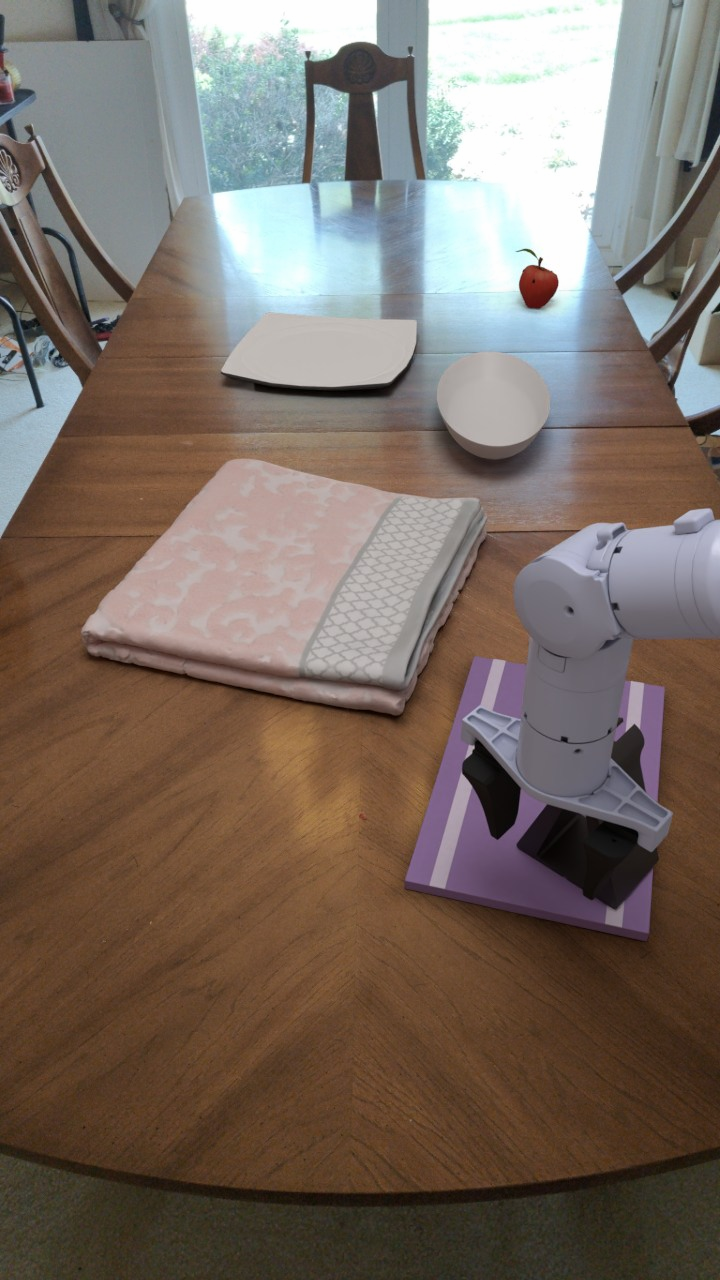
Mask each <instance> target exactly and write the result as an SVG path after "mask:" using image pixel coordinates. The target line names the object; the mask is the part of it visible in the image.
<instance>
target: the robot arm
mask: <svg viewBox="0 0 720 1280" xmlns="http://www.w3.org/2000/svg"><path fill="white" fill-rule="evenodd" d="M512 590H513V591H512V593H513V595H512V596H513V605H514V608H515V611H516V615H517V617H518V619H519V621H520V623H521V625H522V627H523V628H524V630H525V631H526V632H527V634H528V635H529V639H528V646H527V647H528V649H527V658H526V664H525V665H526V674H525V683H524V692H523V701H522V712H521V719H517V718H514V717H510V716H506V715H503V714H499V713H496V712H494V711H491V710H489V709H487V708H485V707H483V706H481V705H479V706H478V707H477V708H476V709H474V710H473V711H472V712H471V713H469V714H468V715H467V716H466V717H464V718H463V719H462V730H461V740H462V741H464V742H465V743H467V744H469V745H471V746H474V745H475V747H474V749H473V750H472V754H471V755H470V756H468V757H467V758H466V759H465V760H464V761H463V764H462V774H463V775H464V776H465V778H466V779H467V780H468V781H469V783H470V784H471V785H472V787H473V789H474V790H475V792H476V794H477V796H478V798H479V800H480V802H481V805H482V808H483V810H484V813H485V817H486V820H487V824H488V827H489V831H490V834H491V836H492V837H493V838H495V839H497V840H499V839H500V838H501V837H502V836H503V835H504V834H505V833H506V832H507V831H508V830H509V829H510V828H511V827H512V826H513V825H514V824H515V822H516V818H517V815H518V810H519V801H520V793H521V789H523V790H524V791H525V792H526V793H527V794H528V795H530V796H531V797H533V798H534V799H536V800H538V801H540V802H543V803H545V804H548V805H552V806H555V807H559V808H562V809H566V810H569V811H573V812H576V813H580V814H583V815H587V816H590V817H594V818H597V819H601V820H604V821H603V823H602V824H600V825H599V826H598V827H597V828H596V829H595V830H594V831H593V832H592V833H591V834H590V835H589V836H588V837H587V838H586V839H585V840H584V842H583V847H584V850H585V853H586V861H587V870H586V875H585V879H584V884H583V896H585V897H586V898H588V899H590V900H594V898H595V897H596V896H597V895H598V894H599V893H600V892H601V891H602V890H603V888H604V887H605V886H606V885H607V884H608V882H609V879H610V877H611V875H612V873H613V871H614V869H615V868H616V867H617V866H618V865H619V864H620V863H621V862H622V861H624V860H625V859H626V858H627V856H628V855H629V854H630V853H631V852H632V851H633V850H634V849H635V848H636V847H637V845H638V844H639V845H640V846H641V847H643V848H645V849H646V850H648V851H650V852H653V850H654V849H655V848H656V847H657V848H658V846H659V845H661V843H662V842H663V840H664V839H665V838H666V837H667V836H668V835H669V831H670V827H671V823H672V819H673V815H674V812H673V811H671V810H669V809H668V808H666V807H664V806H663V805H661V804H660V803H659V802H656V801H654V800H653V799H652V798H651V797H650V796H649V795H648V794H647V793H646V792H645V791H644V790H643V789H642V788H641V787H640V786H639V785H638V784H637V783H636V782H635V781H634V780H633V779H632V778H631V777H630V776H629V775H628V774H627V773H626V772H625V771H624V770H623V769H622V768H621V767H620V766H618V765H617V764H616V763H615V762H614V761H613V760H612V759H611V753H612V748H613V743H614V737H615V732H616V727H617V722H618V716H619V711H620V706H621V701H622V695H623V690H624V685H625V681H627V680H626V679H627V674H628V670H629V664H630V659H631V654H632V648H633V643H634V640H720V519H715V517H714V511H713V510H712V509H711V508H709V507H708V508H699V509H691V510H689V511H687V512H686V513H684V514H683V515H681V516H680V517H678V518H676V519H675V520H674V521H673V524H669V525H659V526H650V527H643V528H642V527H641V528H633V529H628V528H627V526H626V524H625V523H624V522H614V523H609V522H596V523H592V524H590V525H587V526H585V527H583V528H582V529H581V530H578V531H577V532H576V533H574V534H572V535H570V536H569V537H568V538H566V539H564V540H563V541H561V542H560V543H558V544H556V545H555V546H553V547H551V548H550V549H548V550H546V551H545V552H544V553H541V555H539V556H537V557H536V558H534V559H533V560H531V561H530V562H529V563H528V564H527V565H526V566H524V567H523V568H522V569H521V570H520V571H519V573H518V574H517V575H516V578H515V580H514V583H513V589H512Z"/></svg>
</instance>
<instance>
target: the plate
mask: <svg viewBox="0 0 720 1280" xmlns="http://www.w3.org/2000/svg"><path fill="white" fill-rule="evenodd" d="M417 332H418V321H417V320H416V319H391V318H390V319H389V318H384V319H382V318H357V317H339V316H338V317H337V316H319V315H307V314H306V315H305V314H293V313H283V312H273V311H272V312H271V311H268V312H265V313H264V314H263V315H262V317H260V319H259V320H258V321H257V322H256V323H255V324H254V325H253V326H252V327H251V328H250V330H248V332H246V334H245V335H244V336H243V337H242V338H241V340H239V342H238V343H237V344H236V346H235V347H234V348H233V350H232V351H231V352H230V354H229V355H228V357H227V359H226V361H225V363H224V365H223V366H222V368H221V369H220V374H221V375H222V376H225V377H226V378H229V379H232V380H237V381H242V382H247V383H253V384H256V385H262V386H268V387H271V388H283V389H295V390H296V389H297V390H307V391H308V390H309V391H310V390H311V391H313V390H314V391H332V392H337V391H355V390H356V391H357V390H371V389H372V390H373V389H374V390H375V389H384V388H387V387H389V386H391V385H392V384H393V383H394V382H395V381H396V380H397V379H398V377H400V376H401V375H402V374H403V373H404V371H406V370H407V368H408V366H409V364H410V362H411V360H412V359H413V358H414V353H415V351H416V347H417V337H418V336H417V335H418V333H417Z"/></svg>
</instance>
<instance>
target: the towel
mask: <svg viewBox="0 0 720 1280" xmlns="http://www.w3.org/2000/svg"><path fill="white" fill-rule="evenodd" d="M480 503H481V499H480V498H477V497H471V496H470V497H442V498H438V497H437V498H436V497H428V496H422V495H415V494H407V493H400V492H399V493H397V492H393V491H392V492H391V491H386V490H381V489H378V488H375V487H372V486H368V485H364V484H359V483H354V482H348V481H341V480H338V479H333V478H329V477H325V476H321V475H317V474H312V473H309V472H305V471H299V470H296V469H291V468H288V467H285V466H281V465H278V464H275V463H272V462H268V461H266V460H265V461H264V460H262V459H261V460H259V459H255V458H254V459H253V458H234V459H231V460H228V461H226V462H225V463H224V464H223V465H221V467H220V468H218V470H217V471H215V472H214V476H213V477H212V478H211V479H209V480H208V481H207V483H205V485H204V486H203V487H202V488H201V489H200V490H199V492H198V494H195V496H194V497H192V499H191V500H190V502H188V504H187V505H186V506H185V508H184V509H183V510H182V511H181V512H179V515H178V516H177V517H176V518H175V520H174V521H173V523H172V524H171V525H170V527H168V529H167V530H165V532H163V533H162V535H160V537H159V538H158V539H157V540H155V542H154V543H153V544H152V546H151V547H149V548H148V550H147V551H145V553H144V555H142V557H141V558H140V559H139V560H137V561H135V564H134V566H133V567H132V568H131V569H130V571H128V573H127V574H126V575H125V576H124V578H123V580H121V581H120V582H119V583H118V584H117V585H116V586H115V587H114V589H111V590H110V591H108V592H107V594H106V595H105V596H104V597H103V598H102V599H101V601H100V602H99V603H98V604H97V609H96V610H95V612H94V613H92V614H90V615H89V617H88V618H87V619H86V621H85V623H84V625H83V626H82V627H81V631H80V634H81V637H82V638H81V641H82V644H83V647H84V648H85V649H86V650H87V653H88V654H90V655H91V656H94V657H102V658H106V659H109V660H112V661H116V662H117V661H118V662H122V663H125V664H135V665H138V666H142V667H148V668H153V669H157V670H160V671H164V672H165V671H167V672H172V673H176V674H179V675H187V676H189V677H192V678H195V679H200V680H203V681H204V680H205V681H210V682H217V683H221V684H224V685H230V686H233V687H240V688H243V689H251V690H255V691H258V692H262V693H267V694H272V695H273V694H274V695H278V696H281V697H282V696H283V697H286V698H292V699H294V700H301V701H303V702H309V703H310V702H311V703H317V704H324V705H329V706H333V707H338V708H339V707H340V708H344V709H352V710H366V711H367V710H369V711H372V712H377V713H383V714H389V715H392V716H400V715H402V713H403V712H404V710H405V707H406V702H408V701H409V700H410V698H411V697H412V695H413V693H414V691H415V688H416V685H417V682H418V676H419V675H421V673H422V672H423V670H424V668H425V666H426V665H427V663H428V661H429V657H430V654H431V653H432V652H433V650H434V646H435V643H434V641H435V638H436V635H437V633H438V630H439V629H440V628H441V627H442V626H445V623H446V622H447V619H448V617H449V616H450V614H451V611H452V610H453V607H454V602H455V601H456V599H457V598H458V596H459V595H460V592H459V591H461V590H462V589H463V587H464V585H465V582H466V578H467V577H469V576H470V573H471V571H472V569H473V565H474V564H475V562H476V561H477V557H478V552H479V548H480V545H481V544H482V543H484V540H485V539H486V537H487V535H488V532H487V527H488V526H487V522H488V519H489V516H488V515H486V514H484V507H483V506H481V504H480Z"/></svg>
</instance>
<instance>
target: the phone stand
mask: <svg viewBox="0 0 720 1280" xmlns="http://www.w3.org/2000/svg"><path fill="white" fill-rule="evenodd" d="M622 722H623V718H620V717H618V722H617V727H618V726H619V725H620V724H621V723H622ZM617 727H616V728H617ZM644 743H645V742H644V736H643V734H642V732H641V730H640V729H639V728H638V727H637V726H636V725H635V724H634V725H632V726H631V727H630V728H629V729H628V730H627V731H626V732H625V733H624V734H623V735H622V736H621V737H620V738H619V739H618V740H617V741H614V743H613V748H612V753H611V759H612V760H613V761H614V762H615V763H616V764H617V765H618V766H620V767H621V768H622V769H623V770H624V771H625V772H626V773H627V774H628V775H629V776H630V777H631V778H632V779H633V780H634V781H635V782H636V783H637V784H638V785H639V786H640V787H641V788H642V789H643V790H644V791H645V792H646V790H645V784H644V779H643V774H642V769H641V763H640V757H641V752H642V749H643V747H644ZM603 821H604V820H601V819H597V818H594V817H590V816H587V815H586V817H585V816H583V815H581V814H580V813H576V812H573V811H569V810H566V809H562V808H559V807H555V806H552V805H548V804H547V805H546V806H545V808H544V809H543V810H542V811H541V813H540V814H539V815H538V817H537V818H536V819H535V820H534V822H533V823H532V824H531V826H530V827H529V828H528V830H527V831H526V832H525V833H524V835H523V836H522V837H521V839H520V840H519V841H518V843H517V847H518V849H519V850H521V851H522V852H524V853H526V854H527V855H529V856H530V857H532V858H534V859H535V860H537V861H538V862H540V863H541V864H543V865H545V866H546V867H548V868H549V869H551V870H552V871H554V872H556V873H557V874H559V875H560V876H562V877H563V876H565V877H566V878H567V880H568V881H570V882H571V883H573V884H575V885H576V886H578V887H579V888H581V889H582V890H583V884H584V879H585V875H586V870H587V861H586V853H585V850H584V847H583V842H584V840H585V839H586V838H587V837H588V836H589V835H590V834H591V833H592V832H593V831H594V830H595V829H596V828H597V827H598V826H599V825H600V824H602V823H603ZM659 860H660V857H659V853H658V846H657V847H656V848H655V849H654V850H653V852H650V851H648V850H646V849H645V848H643V847H641V846H640V845H639V844H638V845H637V847H636V848H635V849H634V850H633V851H632V852H631V853H630V854H629V855H628V856H627V858H626V859H625V860H624V861H622V862H621V863H620V864H619V865H618V866H617V867H616V868H615V869H614V871H613V873H612V875H611V877H610V879H609V882H608V884H607V885H606V886H605V887H604V888H603V890H602V891H601V892H600V893H599V894H598V895H597V896H596V897H595V898H597V899H598V900H600V901H601V902H603V903H605V904H606V905H608V906H609V907H611V908H613V909H617V908H618V907H619V906H620V905H621V903H622V902H623V901H624V900H625V899H626V898H627V897H628V895H629V894H630V893H631V892H632V891H633V890H634V888H635V887H636V886H637V885H638V884H639V883H640V881H641V880H642V879H643V878H644V877H645V876H646V874H647V873H648V872H649V871H650V870H651V869H652V868H653V869H654V867H655V866H656V864H657V863H658V862H659Z"/></svg>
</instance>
